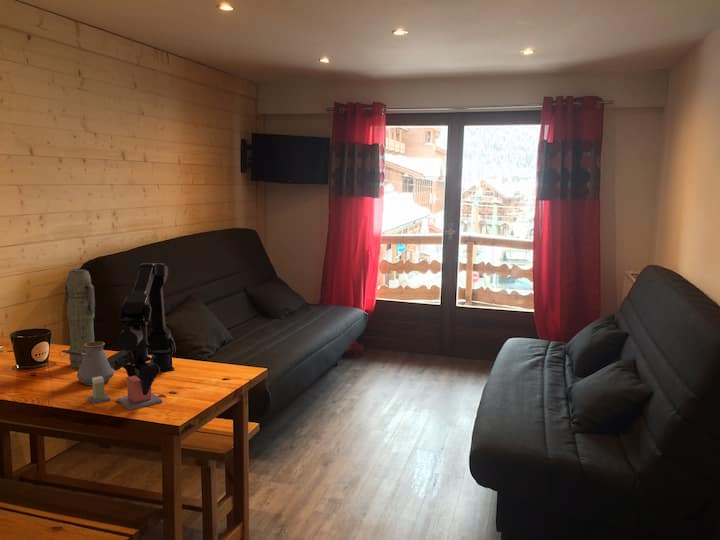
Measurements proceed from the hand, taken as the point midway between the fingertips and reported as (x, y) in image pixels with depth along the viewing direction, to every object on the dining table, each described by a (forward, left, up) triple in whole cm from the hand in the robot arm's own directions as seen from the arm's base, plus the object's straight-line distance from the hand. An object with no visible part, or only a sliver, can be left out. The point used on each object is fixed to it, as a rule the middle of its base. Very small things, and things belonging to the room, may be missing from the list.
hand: (139, 390), depth 178 cm
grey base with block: (+9, -9, -4) cm, 13 cm away
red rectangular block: (0, 0, -2) cm, 3 cm away
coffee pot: (+8, -24, -4) cm, 26 cm away
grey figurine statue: (+2, -47, -4) cm, 47 cm away
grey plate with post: (0, 0, -4) cm, 4 cm away
